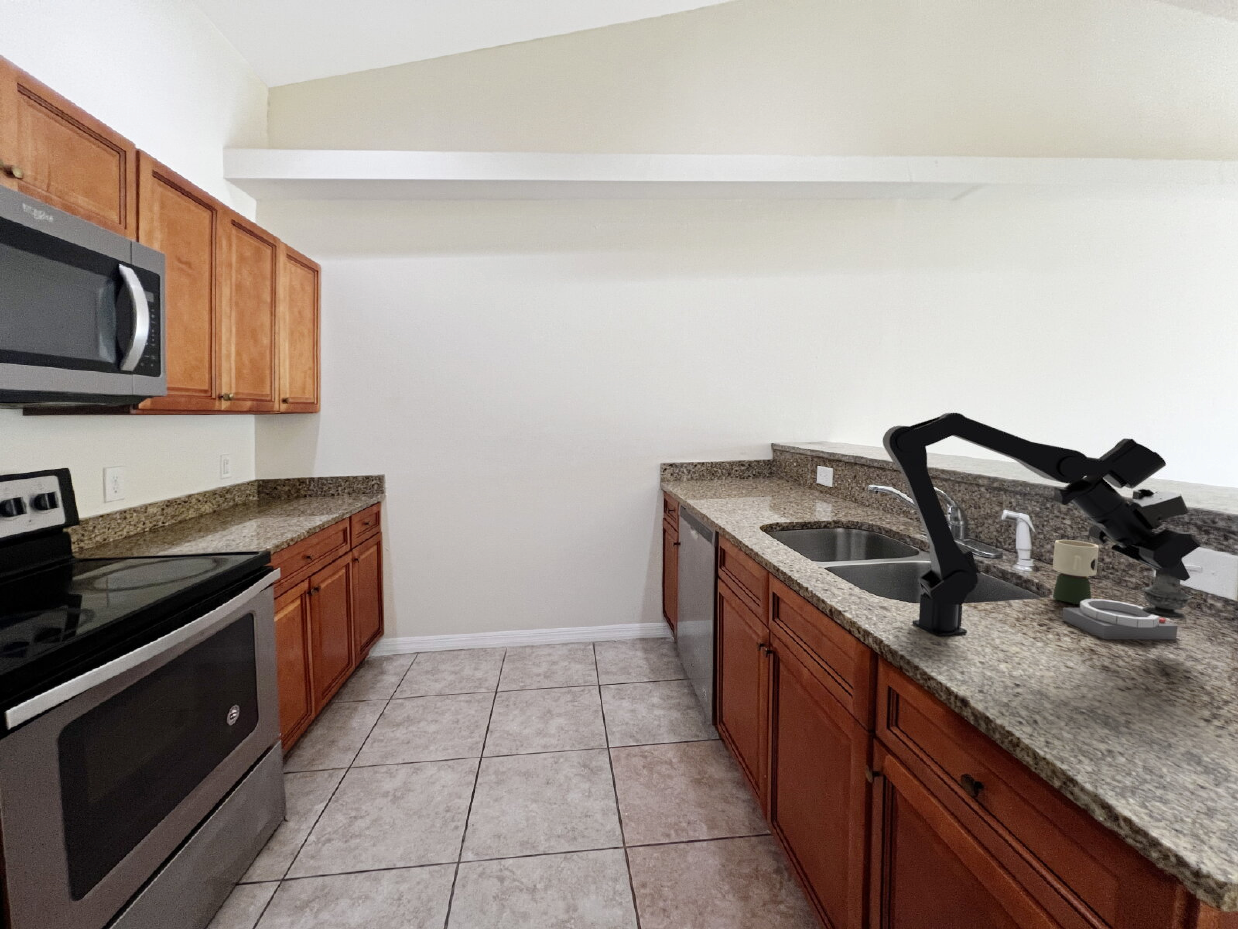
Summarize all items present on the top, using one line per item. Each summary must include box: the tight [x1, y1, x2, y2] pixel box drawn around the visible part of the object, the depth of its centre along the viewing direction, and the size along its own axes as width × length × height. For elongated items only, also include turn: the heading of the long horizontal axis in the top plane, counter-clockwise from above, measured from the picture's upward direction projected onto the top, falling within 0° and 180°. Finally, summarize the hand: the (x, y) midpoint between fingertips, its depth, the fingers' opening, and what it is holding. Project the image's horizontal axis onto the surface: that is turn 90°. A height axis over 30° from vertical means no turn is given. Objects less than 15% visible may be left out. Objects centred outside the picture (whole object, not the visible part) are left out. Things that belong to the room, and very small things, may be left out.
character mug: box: [1052, 539, 1099, 606], centre depth 114 cm, size 11×7×13 cm, turn 145°
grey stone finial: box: [1141, 558, 1192, 620], centre depth 90 cm, size 6×6×12 cm
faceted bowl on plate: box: [1061, 598, 1178, 640], centre depth 100 cm, size 13×10×4 cm
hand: (1178, 575), depth 89 cm, fingers closed on grey stone finial, 4 cm apart
